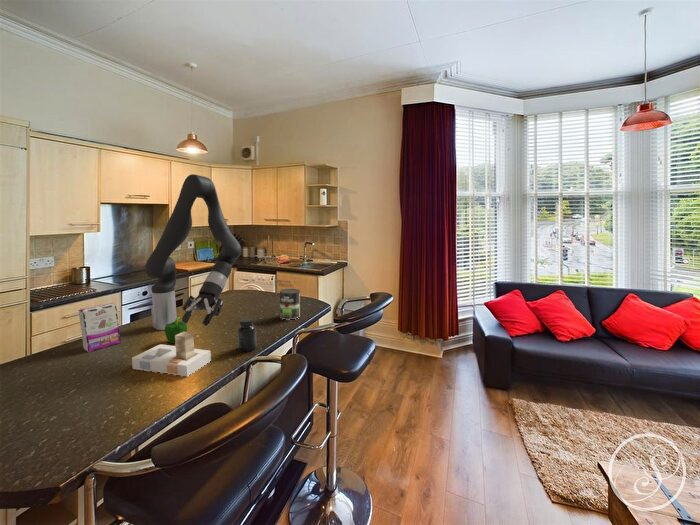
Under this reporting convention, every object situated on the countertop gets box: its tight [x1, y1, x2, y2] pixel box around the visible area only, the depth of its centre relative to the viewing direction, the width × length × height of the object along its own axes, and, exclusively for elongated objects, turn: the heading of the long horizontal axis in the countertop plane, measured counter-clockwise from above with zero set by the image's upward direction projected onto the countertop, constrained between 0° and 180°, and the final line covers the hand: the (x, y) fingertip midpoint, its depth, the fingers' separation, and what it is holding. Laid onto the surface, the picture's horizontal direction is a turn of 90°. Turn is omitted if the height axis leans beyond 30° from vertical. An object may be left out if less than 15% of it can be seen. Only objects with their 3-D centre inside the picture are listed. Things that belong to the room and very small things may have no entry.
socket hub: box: [131, 344, 212, 378], centre depth 113 cm, size 22×12×4 cm, turn 77°
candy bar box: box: [78, 302, 121, 353], centre depth 127 cm, size 11×5×16 cm, turn 148°
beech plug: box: [174, 331, 195, 361], centre depth 111 cm, size 4×4×12 cm
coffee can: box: [279, 288, 301, 321], centre depth 166 cm, size 10×10×14 cm
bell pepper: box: [164, 316, 188, 344], centre depth 133 cm, size 8×8×10 cm
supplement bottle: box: [237, 317, 258, 353], centre depth 127 cm, size 7×7×12 cm
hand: (194, 323), depth 116 cm, fingers open, 8 cm apart
